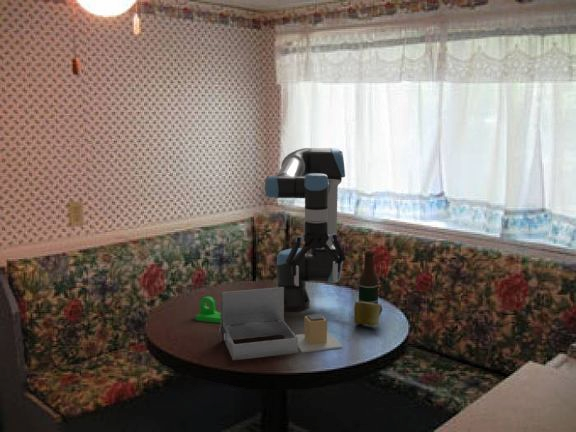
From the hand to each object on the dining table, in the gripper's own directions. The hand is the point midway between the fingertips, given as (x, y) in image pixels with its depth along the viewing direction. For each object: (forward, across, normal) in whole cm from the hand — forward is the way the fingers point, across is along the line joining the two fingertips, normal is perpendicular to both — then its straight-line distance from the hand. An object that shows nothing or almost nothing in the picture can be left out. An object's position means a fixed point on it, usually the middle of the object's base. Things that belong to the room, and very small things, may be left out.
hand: (315, 283), depth 193 cm
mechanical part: (+22, +30, -32) cm, 49 cm away
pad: (+21, 0, 0) cm, 21 cm away
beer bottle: (+22, -30, -25) cm, 44 cm away
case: (+21, +19, -2) cm, 28 cm away
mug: (+21, -23, -6) cm, 32 cm away
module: (+20, 0, 0) cm, 20 cm away
